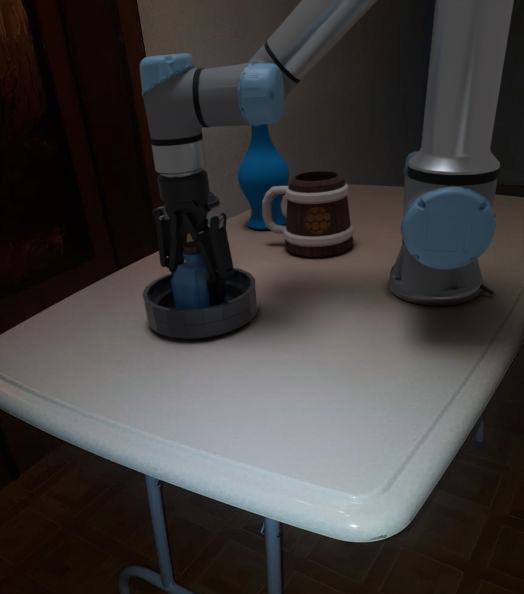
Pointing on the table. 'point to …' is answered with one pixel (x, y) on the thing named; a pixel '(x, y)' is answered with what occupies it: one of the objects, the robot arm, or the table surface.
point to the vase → (262, 176)
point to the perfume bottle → (191, 280)
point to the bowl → (201, 309)
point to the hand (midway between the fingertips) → (202, 310)
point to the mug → (313, 214)
